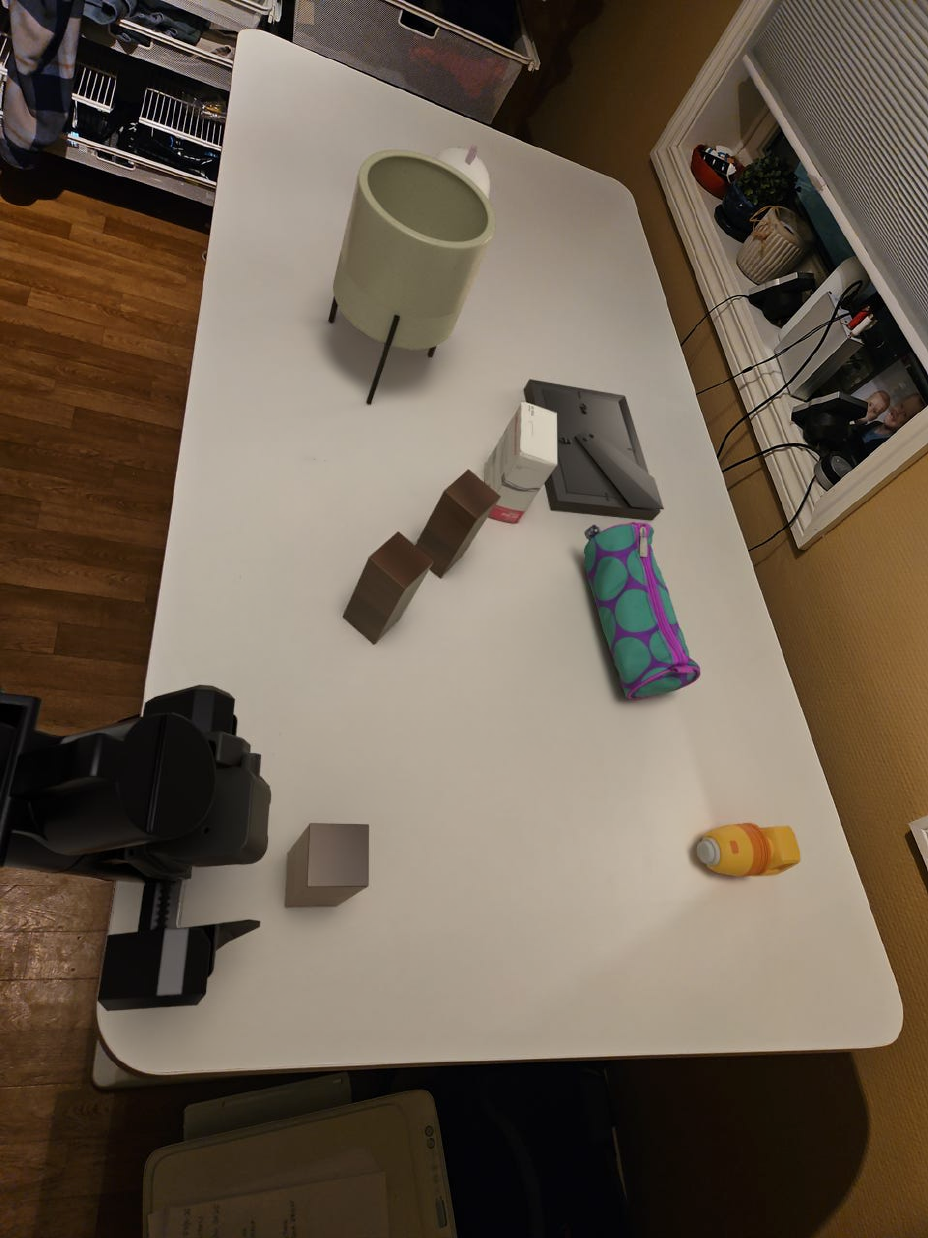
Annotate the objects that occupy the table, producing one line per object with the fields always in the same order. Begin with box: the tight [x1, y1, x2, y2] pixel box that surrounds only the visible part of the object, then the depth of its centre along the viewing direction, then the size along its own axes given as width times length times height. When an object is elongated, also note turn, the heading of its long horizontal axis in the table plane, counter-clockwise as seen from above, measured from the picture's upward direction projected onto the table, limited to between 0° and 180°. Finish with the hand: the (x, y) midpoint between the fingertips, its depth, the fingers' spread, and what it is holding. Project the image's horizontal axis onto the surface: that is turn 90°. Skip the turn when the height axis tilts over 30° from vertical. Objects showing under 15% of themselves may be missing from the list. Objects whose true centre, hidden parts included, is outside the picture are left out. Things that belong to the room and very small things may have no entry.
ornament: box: [432, 144, 491, 199], centre depth 110 cm, size 10×10×12 cm
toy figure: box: [696, 822, 801, 877], centre depth 77 cm, size 5×6×12 cm
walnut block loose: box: [284, 822, 370, 908], centre depth 58 cm, size 4×4×12 cm
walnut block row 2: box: [414, 469, 501, 579], centre depth 79 cm, size 4×4×12 cm
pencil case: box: [583, 521, 701, 700], centre depth 84 cm, size 21×9×10 cm, turn 11°
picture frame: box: [523, 378, 665, 521], centre depth 99 cm, size 16×3×21 cm
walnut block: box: [342, 530, 434, 645], centre depth 72 cm, size 4×4×12 cm
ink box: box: [483, 401, 557, 524], centre depth 87 cm, size 9×5×12 cm, turn 176°
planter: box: [327, 149, 497, 405], centre depth 85 cm, size 15×16×23 cm
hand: (260, 855), depth 51 cm, fingers open, 9 cm apart
